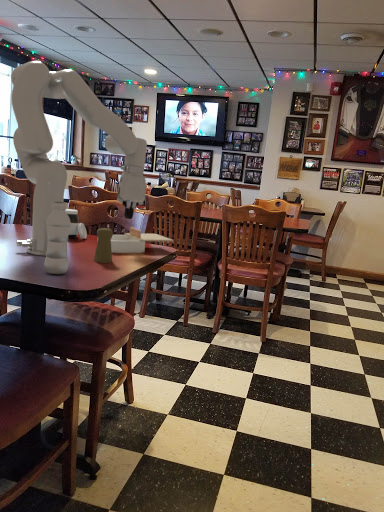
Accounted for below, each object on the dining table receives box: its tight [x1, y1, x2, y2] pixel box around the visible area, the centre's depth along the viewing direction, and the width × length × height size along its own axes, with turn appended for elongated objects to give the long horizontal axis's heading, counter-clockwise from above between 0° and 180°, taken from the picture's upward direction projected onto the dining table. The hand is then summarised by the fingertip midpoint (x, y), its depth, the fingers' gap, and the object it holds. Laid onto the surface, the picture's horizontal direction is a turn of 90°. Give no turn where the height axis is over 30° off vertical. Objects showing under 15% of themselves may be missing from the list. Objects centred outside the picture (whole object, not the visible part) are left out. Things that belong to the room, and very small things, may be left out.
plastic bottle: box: [43, 201, 71, 275], centre depth 110 cm, size 6×7×20 cm
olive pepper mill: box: [93, 227, 114, 264], centre depth 133 cm, size 6×6×11 cm
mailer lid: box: [124, 226, 174, 242], centre depth 163 cm, size 14×14×4 cm
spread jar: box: [65, 208, 88, 240], centre depth 170 cm, size 12×11×12 cm
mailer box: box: [96, 234, 146, 254], centre depth 157 cm, size 14×14×4 cm
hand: (128, 218), depth 156 cm, fingers closed
